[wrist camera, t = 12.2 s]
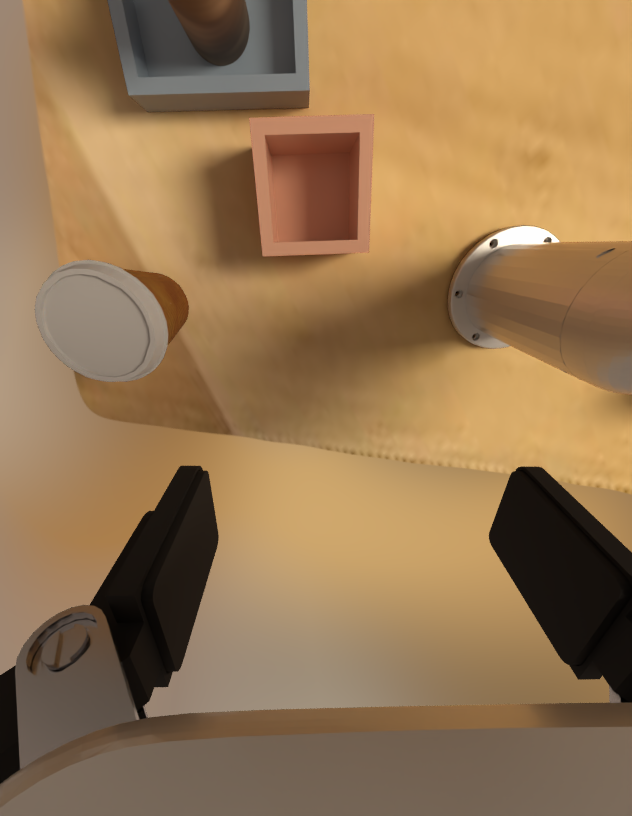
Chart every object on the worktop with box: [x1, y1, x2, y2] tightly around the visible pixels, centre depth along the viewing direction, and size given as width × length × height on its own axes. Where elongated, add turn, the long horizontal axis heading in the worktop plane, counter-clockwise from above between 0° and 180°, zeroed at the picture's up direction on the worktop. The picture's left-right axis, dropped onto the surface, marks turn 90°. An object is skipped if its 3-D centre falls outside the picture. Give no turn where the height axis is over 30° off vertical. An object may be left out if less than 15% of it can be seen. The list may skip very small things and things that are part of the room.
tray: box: [108, 0, 310, 112], centre depth 24 cm, size 14×10×4 cm
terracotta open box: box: [249, 114, 374, 256], centre depth 28 cm, size 9×9×7 cm
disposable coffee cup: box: [35, 260, 189, 382], centre depth 30 cm, size 10×10×12 cm
